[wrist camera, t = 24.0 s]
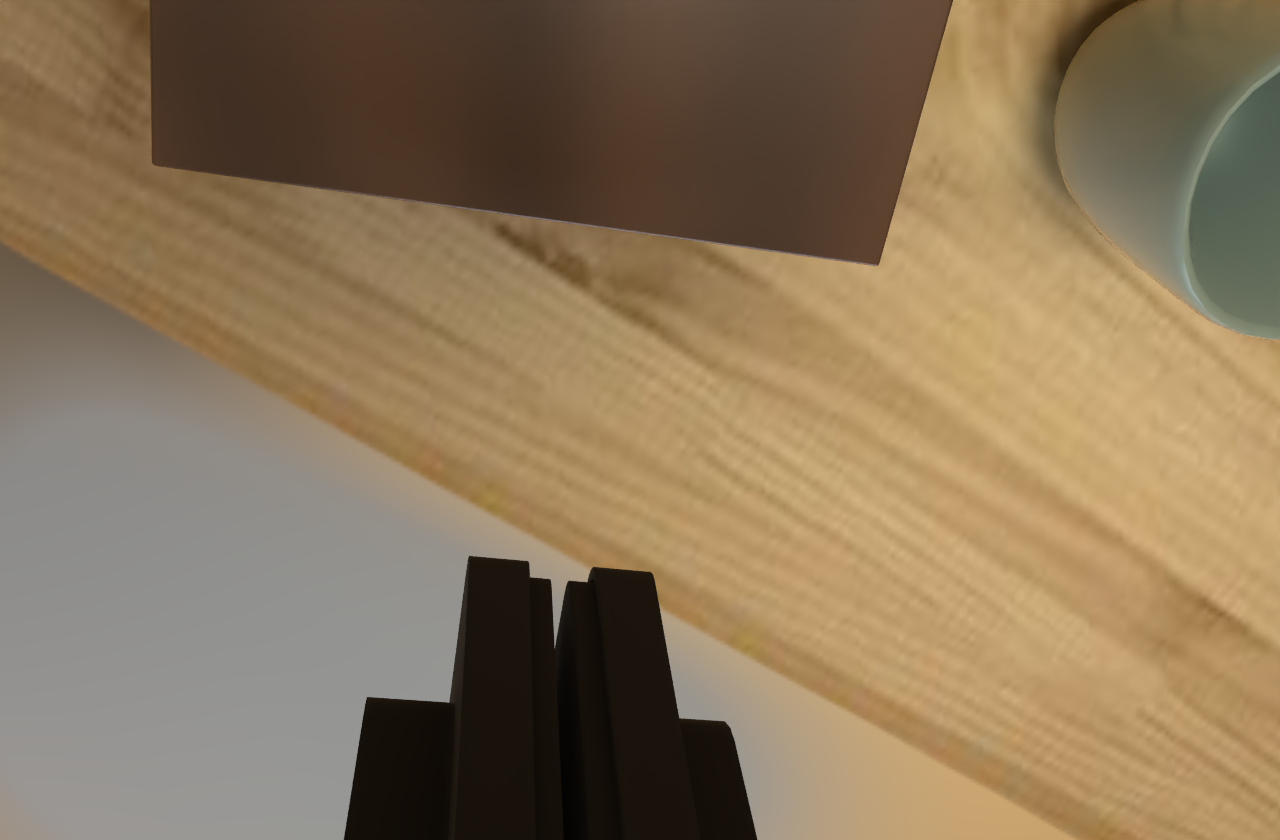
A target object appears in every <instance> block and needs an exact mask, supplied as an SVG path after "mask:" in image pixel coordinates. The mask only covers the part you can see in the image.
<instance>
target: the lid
mask: <svg viewBox="0 0 1280 840" xmlns="http://www.w3.org/2000/svg"><path fill="white" fill-rule="evenodd" d="M952 2H953V0H150V58H151V129H152V163H153V165H155V166H160V167H168V168H175V169H182V170H189V171H196V172H204V173H211V174H218V175H225V176H232V177H239V178H247V179H254V180H261V181H268V182H275V183H283V184H290V185H297V186H304V187H311V188H319V189H326V190H333V191H340V192H347V193H354V194H362V195H369V196H376V197H383V198H390V199H398V200H405V201H412V202H419V203H426V204H433V205H441V206H448V207H455V208H462V209H469V210H477V211H484V212H491V213H498V214H505V215H513V216H520V217H527V218H534V219H541V220H548V221H556V222H563V223H570V224H577V225H584V226H592V227H599V228H606V229H613V230H620V231H627V232H635V233H642V234H649V235H656V236H663V237H671V238H678V239H685V240H692V241H699V242H707V243H714V244H721V245H728V246H735V247H742V248H750V249H757V250H764V251H771V252H778V253H786V254H793V255H800V256H807V257H814V258H821V259H829V260H836V261H843V262H850V263H857V264H865V265H872V266H878V265H879V263H880V259H881V256H882V252H883V248H884V245H885V241H886V238H887V234H888V231H889V227H890V223H891V220H892V216H893V213H894V209H895V206H896V202H897V198H898V195H899V191H900V188H901V184H902V181H903V177H904V173H905V170H906V166H907V163H908V159H909V156H910V152H911V148H912V145H913V141H914V138H915V134H916V131H917V127H918V123H919V120H920V116H921V113H922V109H923V106H924V102H925V98H926V95H927V91H928V88H929V84H930V81H931V77H932V73H933V70H934V66H935V63H936V59H937V56H938V52H939V48H940V45H941V41H942V38H943V34H944V31H945V27H946V23H947V20H948V16H949V13H950V9H951V6H952Z"/></svg>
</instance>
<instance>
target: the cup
mask: <svg viewBox="0 0 1280 840" xmlns="http://www.w3.org/2000/svg"><path fill="white" fill-rule="evenodd" d="M1054 142H1055V150H1056V157H1057V162H1058V166H1059V169H1060V172H1061V175H1062V177H1063V180H1064V183H1065V186H1066V187H1067V189H1068V191H1069V193H1070V195H1071V197H1072V198H1073V200H1074V201H1075V202H1076V204H1077V205H1078V207H1079V208H1080V210H1081V211H1082V213H1083V214H1084V215H1085V217H1086V218H1087V219H1088V221H1089V222H1090V223H1091V224H1092V225H1093V227H1094V228H1095V229H1096V230H1097V231H1098V232H1099V233H1100V234H1101V235H1102V236H1103V237H1104V238H1105V239H1106V240H1107V241H1108V242H1109V243H1110V244H1111V245H1112V246H1114V247H1115V248H1116V249H1117V250H1118V251H1119V252H1121V253H1122V254H1123V255H1124V256H1125V257H1126V258H1128V259H1129V260H1130V261H1131V262H1133V263H1134V264H1135V265H1136V266H1137V267H1139V268H1140V269H1141V270H1142V271H1144V272H1145V273H1146V274H1147V275H1149V276H1150V277H1151V278H1153V279H1154V280H1155V281H1156V282H1158V283H1159V284H1160V285H1161V286H1163V287H1164V288H1165V289H1166V290H1168V291H1169V292H1170V293H1172V294H1173V295H1174V296H1175V297H1177V298H1178V299H1179V300H1180V301H1182V302H1183V303H1184V304H1186V305H1187V306H1188V307H1190V308H1191V309H1192V310H1194V311H1195V312H1196V313H1198V314H1199V315H1201V316H1202V317H1204V318H1205V319H1207V320H1209V321H1211V322H1212V323H1214V324H1217V325H1219V326H1222V327H1224V328H1226V329H1229V330H1231V331H1233V332H1236V333H1238V334H1241V335H1245V336H1251V337H1256V338H1262V339H1267V340H1280V0H1138V1H1136V2H1134V3H1132V4H1130V5H1128V6H1127V7H1125V8H1123V9H1121V10H1119V11H1117V12H1115V13H1114V14H1113V15H1111V16H1110V17H1109V18H1108V19H1106V20H1105V21H1104V22H1103V23H1101V24H1100V25H1099V26H1098V27H1096V28H1095V30H1094V31H1093V32H1092V33H1091V34H1090V36H1089V37H1088V38H1087V39H1086V40H1085V42H1084V43H1083V44H1082V45H1081V46H1080V48H1079V50H1078V51H1077V53H1076V55H1075V57H1074V58H1073V60H1072V62H1071V64H1070V65H1069V67H1068V69H1067V72H1066V75H1065V77H1064V80H1063V83H1062V85H1061V88H1060V91H1059V95H1058V100H1057V105H1056V110H1055V118H1054Z"/></svg>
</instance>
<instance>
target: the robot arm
mask: <svg viewBox="0 0 1280 840" xmlns="http://www.w3.org/2000/svg"><path fill="white" fill-rule="evenodd" d="M552 609H553V607H552V588H551V580H550V579H542V578H531V577H530V571H529V562H528V561H520V560H508V559H497V558H486V557H474V556H469V558H468V564H467V571H466V578H465V586H464V593H463V601H462V609H461V617H460V624H459V632H458V640H457V648H456V656H455V663H454V671H453V679H452V688H451V695H450V702H449V703H446V702H432V701H417V700H401V699H387V698H371V697H367V700H366V704H365V710H364V715H363V722H362V728H361V734H360V741H359V747H358V754H357V760H356V766H355V773H354V779H353V786H352V792H351V798H350V805H349V811H348V817H347V823H346V830H345V836H344V840H757V837H756V832H755V828H754V823H753V819H752V815H751V811H750V806H749V802H748V797H747V793H746V789H745V785H744V780H743V776H742V771H741V767H740V763H739V758H738V754H737V750H736V746H735V741H734V738H733V735H732V732H731V729H730V727H729V726H728V725H727V724H726V722H724V721H710V720H695V719H680V718H679V715H678V709H677V704H676V698H675V692H674V687H673V681H672V675H671V670H670V665H669V658H668V653H667V647H666V642H665V636H664V630H663V625H662V620H661V613H660V608H659V602H658V597H657V591H656V585H655V580H654V577H653V574H652V573H651V572H644V571H633V570H622V569H610V568H599V567H593V568H592V569H591V571H590V574H589V578H588V582H576V581H568V583H567V586H566V590H565V595H564V600H563V606H562V611H561V618H560V623H559V628H558V634H557V640H556V646H555V648H554V628H553V610H552Z"/></svg>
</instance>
